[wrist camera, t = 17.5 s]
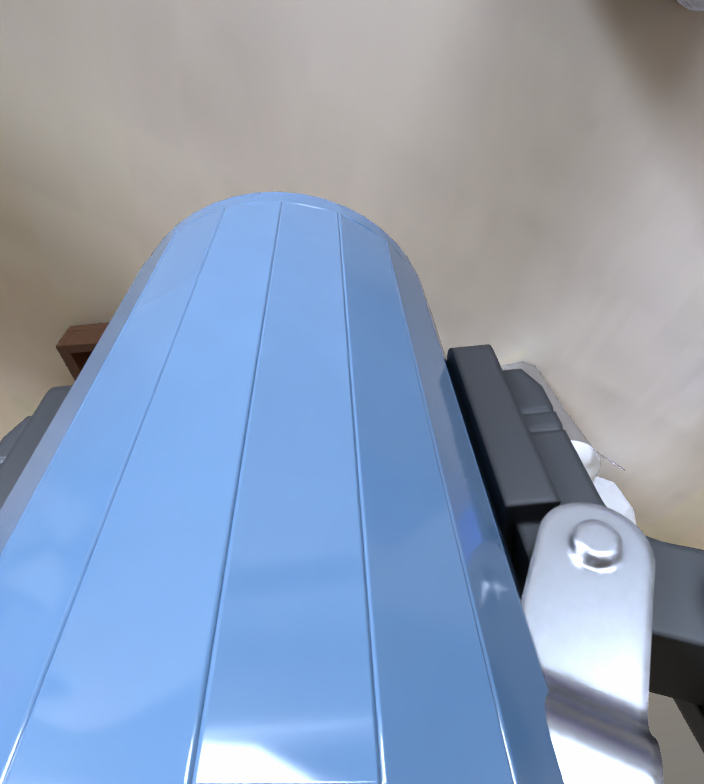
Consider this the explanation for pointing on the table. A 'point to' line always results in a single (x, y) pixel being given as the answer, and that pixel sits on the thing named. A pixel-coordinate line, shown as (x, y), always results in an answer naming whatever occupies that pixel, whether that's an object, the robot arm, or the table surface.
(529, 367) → the milkshake
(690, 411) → the table surface
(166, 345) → the glass
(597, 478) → the geometric ball
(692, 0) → the ink cartridge box
